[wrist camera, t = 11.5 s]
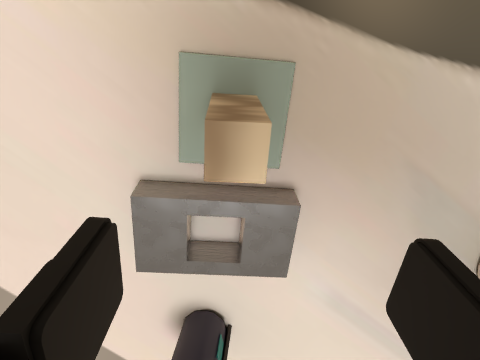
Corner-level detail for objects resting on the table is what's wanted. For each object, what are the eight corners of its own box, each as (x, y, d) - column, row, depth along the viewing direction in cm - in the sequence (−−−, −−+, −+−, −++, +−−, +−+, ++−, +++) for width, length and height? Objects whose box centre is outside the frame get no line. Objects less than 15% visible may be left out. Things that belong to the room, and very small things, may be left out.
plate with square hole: (293, 189, 32) (300, 205, 29) (281, 256, 36) (286, 277, 32) (140, 180, 31) (130, 196, 27) (144, 250, 34) (136, 271, 31)
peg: (256, 95, 27) (271, 123, 18) (253, 138, 29) (265, 183, 19) (212, 92, 27) (204, 120, 18) (211, 136, 28) (203, 181, 19)
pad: (294, 62, 26) (295, 62, 26) (278, 166, 31) (279, 168, 30) (180, 51, 26) (179, 52, 25) (179, 160, 30) (178, 162, 29)
